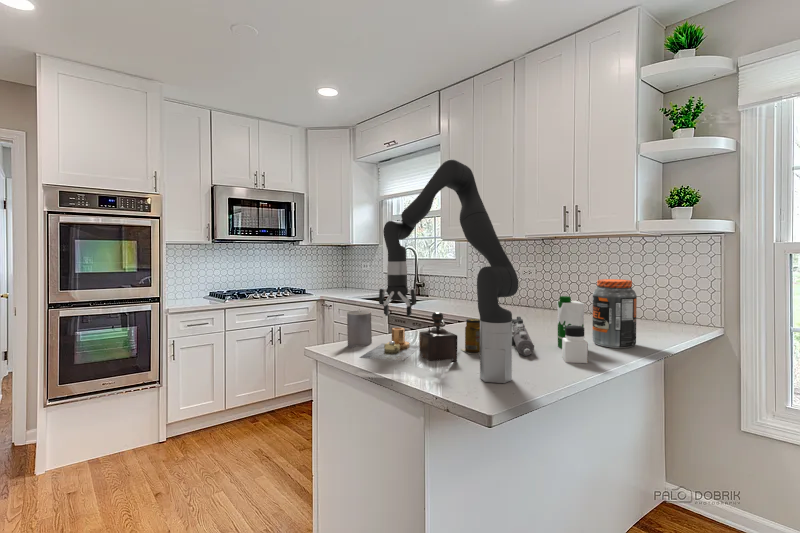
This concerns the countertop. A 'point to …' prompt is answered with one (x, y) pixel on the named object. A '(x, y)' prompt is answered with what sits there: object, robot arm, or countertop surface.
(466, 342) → the condiment
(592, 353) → the countertop surface
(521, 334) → the hydraulic cylinder
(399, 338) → the faceted vase
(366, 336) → the pillar candle
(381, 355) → the carrier
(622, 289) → the supplement tub
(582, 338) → the medicine bottle
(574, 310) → the milk carton
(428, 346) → the coffee grinder
